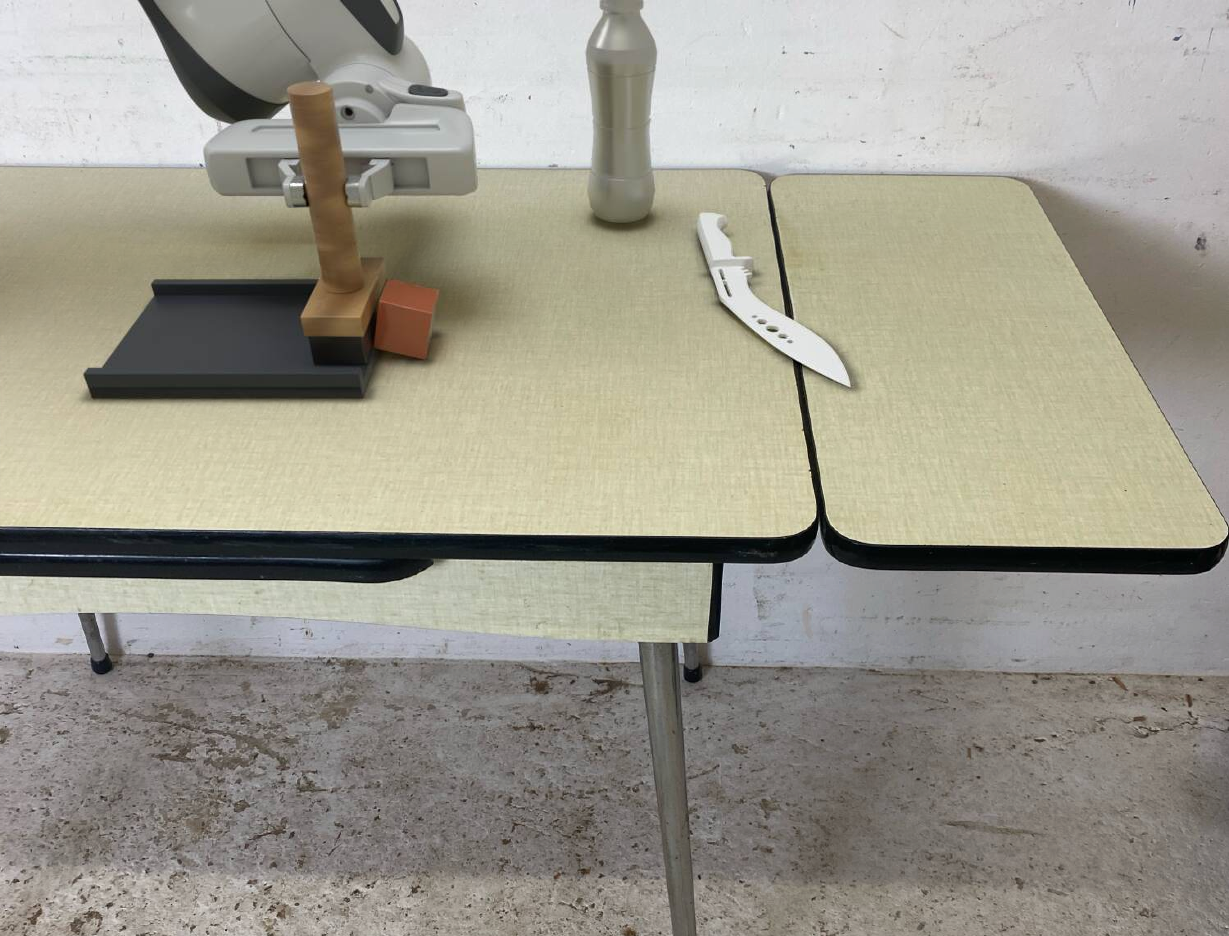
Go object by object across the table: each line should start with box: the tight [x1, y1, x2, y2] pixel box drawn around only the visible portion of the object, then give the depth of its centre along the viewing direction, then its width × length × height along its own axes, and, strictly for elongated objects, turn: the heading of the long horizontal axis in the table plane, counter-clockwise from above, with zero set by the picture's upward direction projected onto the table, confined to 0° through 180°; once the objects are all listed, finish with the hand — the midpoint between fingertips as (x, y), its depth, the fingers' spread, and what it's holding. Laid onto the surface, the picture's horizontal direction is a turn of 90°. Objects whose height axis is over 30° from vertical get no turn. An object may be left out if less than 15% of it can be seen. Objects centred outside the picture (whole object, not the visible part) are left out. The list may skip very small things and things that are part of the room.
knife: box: [695, 212, 851, 388], centre depth 90 cm, size 30×2×8 cm
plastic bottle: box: [585, 0, 658, 224], centre depth 98 cm, size 6×7×20 cm
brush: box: [287, 81, 388, 365], centre depth 78 cm, size 4×10×18 cm, turn 179°
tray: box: [82, 278, 388, 399], centre depth 84 cm, size 20×16×2 cm
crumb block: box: [373, 277, 440, 360], centre depth 83 cm, size 4×4×4 cm
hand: (325, 197), depth 76 cm, fingers closed on brush, 3 cm apart
